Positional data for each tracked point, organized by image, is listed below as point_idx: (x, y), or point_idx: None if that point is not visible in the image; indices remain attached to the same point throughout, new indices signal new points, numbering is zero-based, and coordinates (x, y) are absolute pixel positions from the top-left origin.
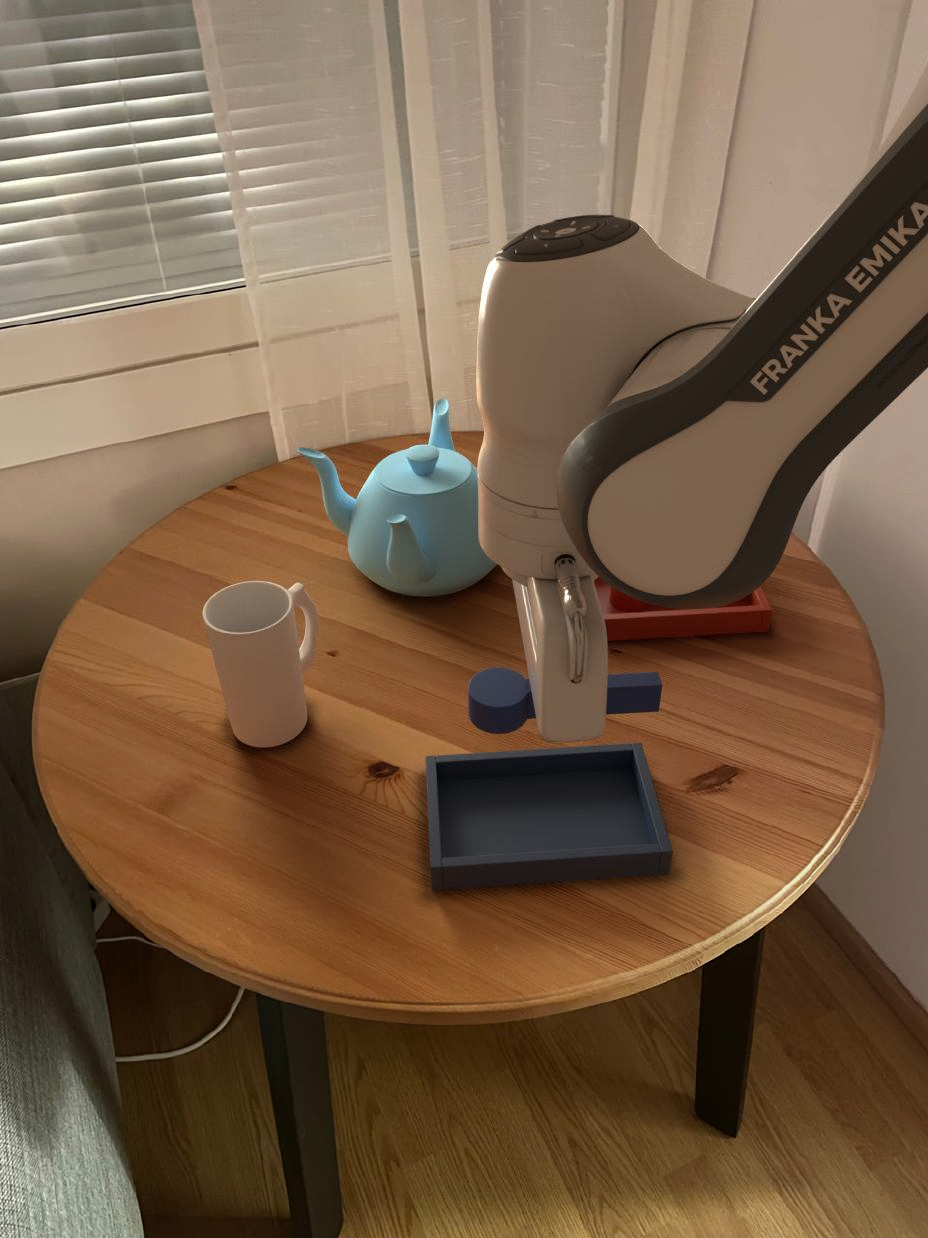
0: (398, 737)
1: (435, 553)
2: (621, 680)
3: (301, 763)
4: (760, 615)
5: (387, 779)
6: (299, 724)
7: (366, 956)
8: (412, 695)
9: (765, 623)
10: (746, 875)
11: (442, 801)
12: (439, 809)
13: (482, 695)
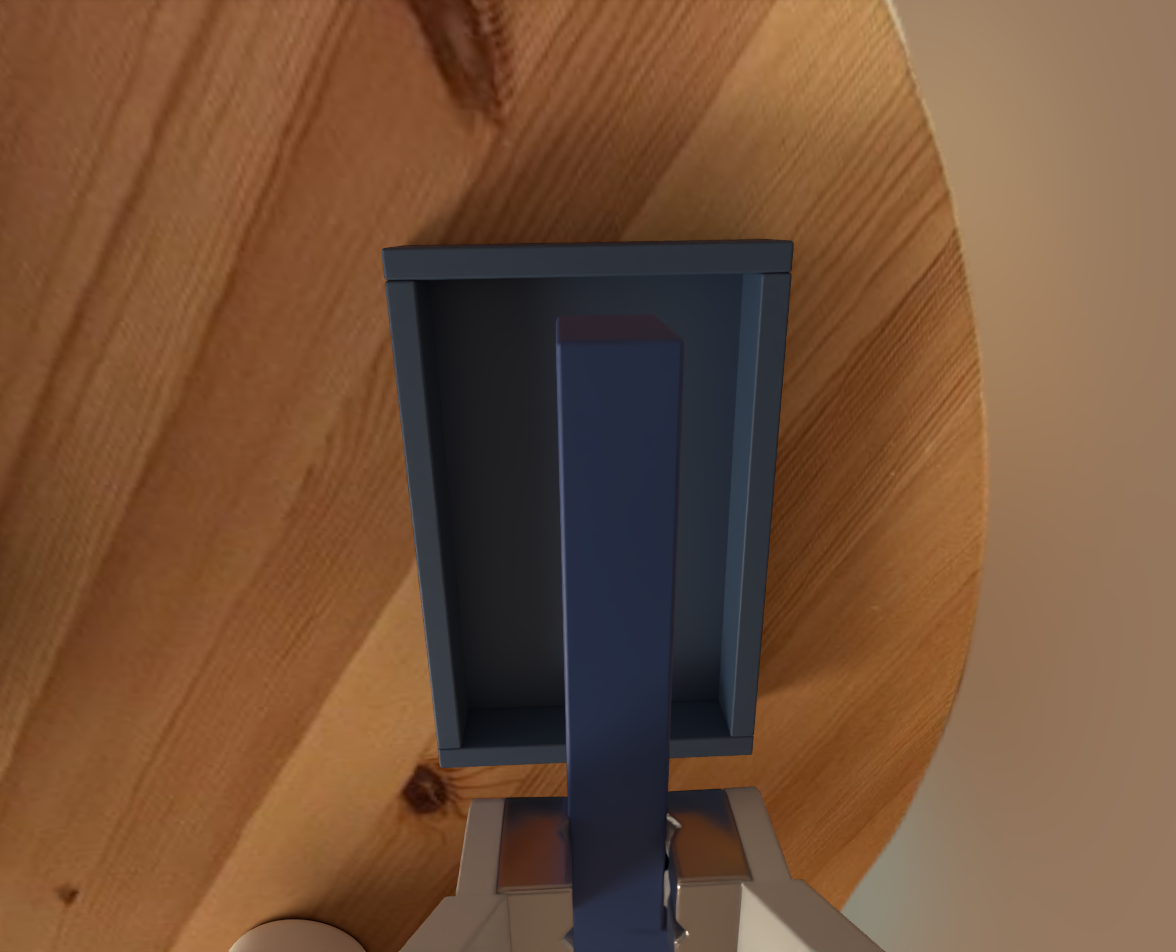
0: (329, 769)
1: None
2: (625, 560)
3: (410, 913)
4: None
5: (452, 782)
6: (323, 948)
7: (846, 793)
8: (188, 748)
9: None
10: (797, 26)
11: (527, 699)
12: (548, 704)
13: None
